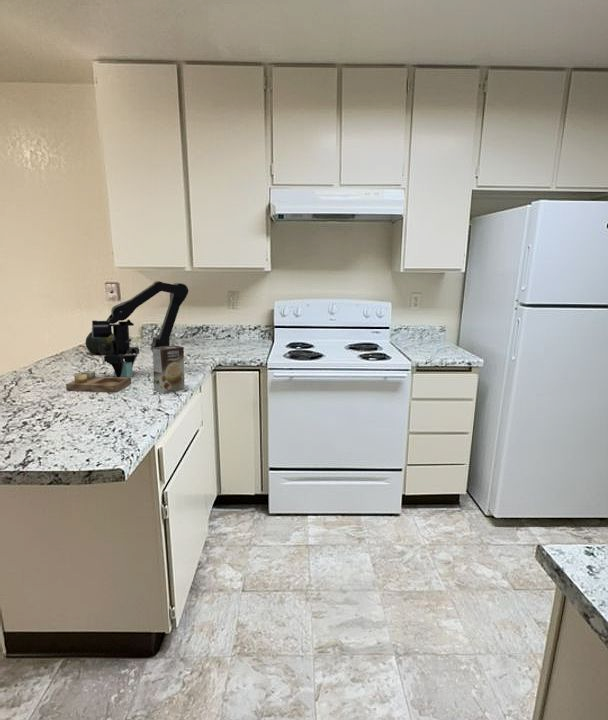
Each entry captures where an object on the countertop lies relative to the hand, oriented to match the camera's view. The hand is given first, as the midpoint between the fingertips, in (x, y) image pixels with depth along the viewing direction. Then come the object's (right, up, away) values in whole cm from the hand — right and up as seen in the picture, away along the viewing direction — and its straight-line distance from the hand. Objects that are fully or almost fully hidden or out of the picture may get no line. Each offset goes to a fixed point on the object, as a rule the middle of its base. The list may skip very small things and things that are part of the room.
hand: (123, 374), depth 165 cm
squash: (-32, +9, +47) cm, 57 cm away
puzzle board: (-2, -4, -14) cm, 15 cm away
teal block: (0, -1, 0) cm, 1 cm away
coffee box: (+24, -5, -15) cm, 28 cm away
